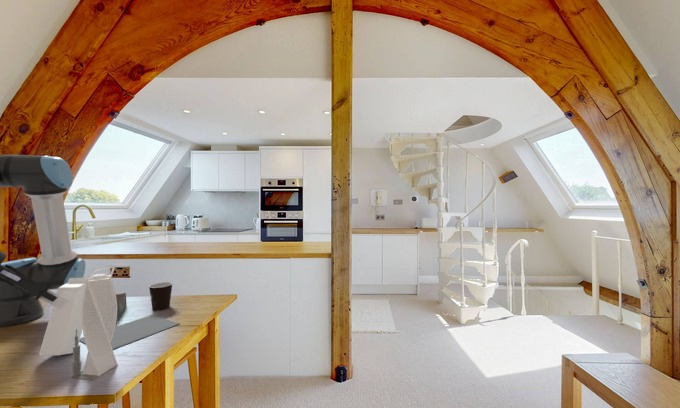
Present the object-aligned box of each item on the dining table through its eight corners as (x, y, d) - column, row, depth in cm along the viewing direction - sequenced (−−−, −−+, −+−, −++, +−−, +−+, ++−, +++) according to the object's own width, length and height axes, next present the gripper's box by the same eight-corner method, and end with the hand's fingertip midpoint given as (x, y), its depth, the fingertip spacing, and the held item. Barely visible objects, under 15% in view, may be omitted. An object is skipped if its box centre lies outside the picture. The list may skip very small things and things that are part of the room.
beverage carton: (91, 326, 109) (91, 308, 109) (104, 309, 126) (104, 294, 126) (118, 322, 113) (117, 305, 113) (127, 306, 130) (127, 291, 130)
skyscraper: (101, 361, 85) (100, 265, 85) (125, 363, 84) (124, 266, 84) (70, 378, 77) (69, 272, 77) (97, 381, 76) (95, 273, 76)
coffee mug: (169, 310, 125) (169, 286, 125) (146, 312, 122) (145, 288, 122) (176, 301, 136) (176, 279, 136) (155, 303, 134) (155, 281, 134)
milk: (56, 353, 90) (76, 278, 97) (76, 352, 90) (95, 278, 98) (37, 356, 84) (60, 276, 92) (60, 355, 84) (81, 276, 92)
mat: (77, 340, 98) (77, 339, 98) (152, 315, 119) (152, 314, 119) (103, 353, 89) (103, 352, 89) (179, 324, 111) (179, 323, 111)
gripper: (-49, 267, 74) (43, 312, 89) (-36, 274, 68) (61, 320, 82) (-17, 244, 79) (65, 290, 93) (-1, 247, 72) (84, 296, 87)
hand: (63, 304), depth 88 cm, fingers closed
